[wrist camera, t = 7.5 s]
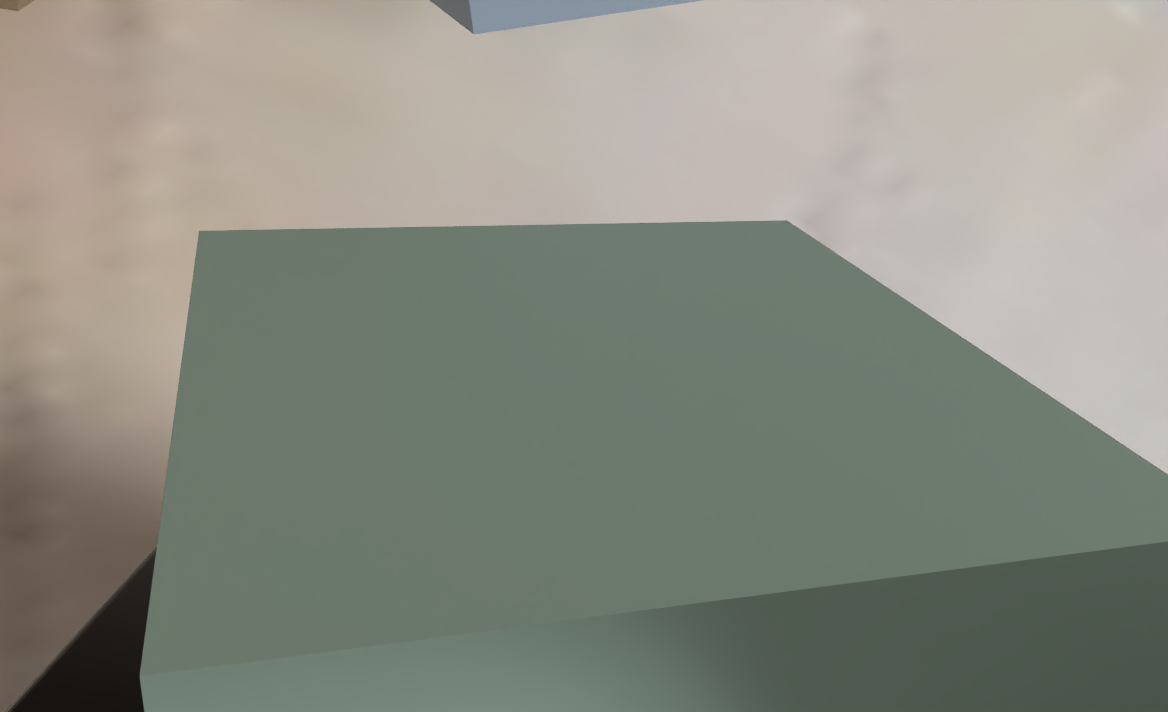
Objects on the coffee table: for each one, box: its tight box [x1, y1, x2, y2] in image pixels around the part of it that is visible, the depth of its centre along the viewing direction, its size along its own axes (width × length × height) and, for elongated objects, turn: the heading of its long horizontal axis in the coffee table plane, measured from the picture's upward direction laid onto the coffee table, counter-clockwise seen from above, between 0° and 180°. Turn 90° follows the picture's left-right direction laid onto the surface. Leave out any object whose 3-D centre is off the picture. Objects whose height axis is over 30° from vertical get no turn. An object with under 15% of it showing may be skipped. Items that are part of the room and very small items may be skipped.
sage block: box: [140, 221, 1168, 712], centre depth 7 cm, size 5×5×5 cm
